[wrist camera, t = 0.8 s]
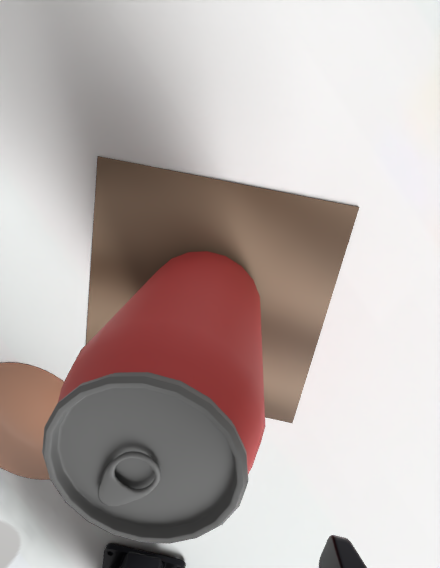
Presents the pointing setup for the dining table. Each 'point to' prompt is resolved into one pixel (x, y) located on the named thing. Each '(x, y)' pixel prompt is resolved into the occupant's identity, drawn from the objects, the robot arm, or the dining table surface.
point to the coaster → (25, 417)
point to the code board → (231, 243)
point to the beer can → (164, 406)
